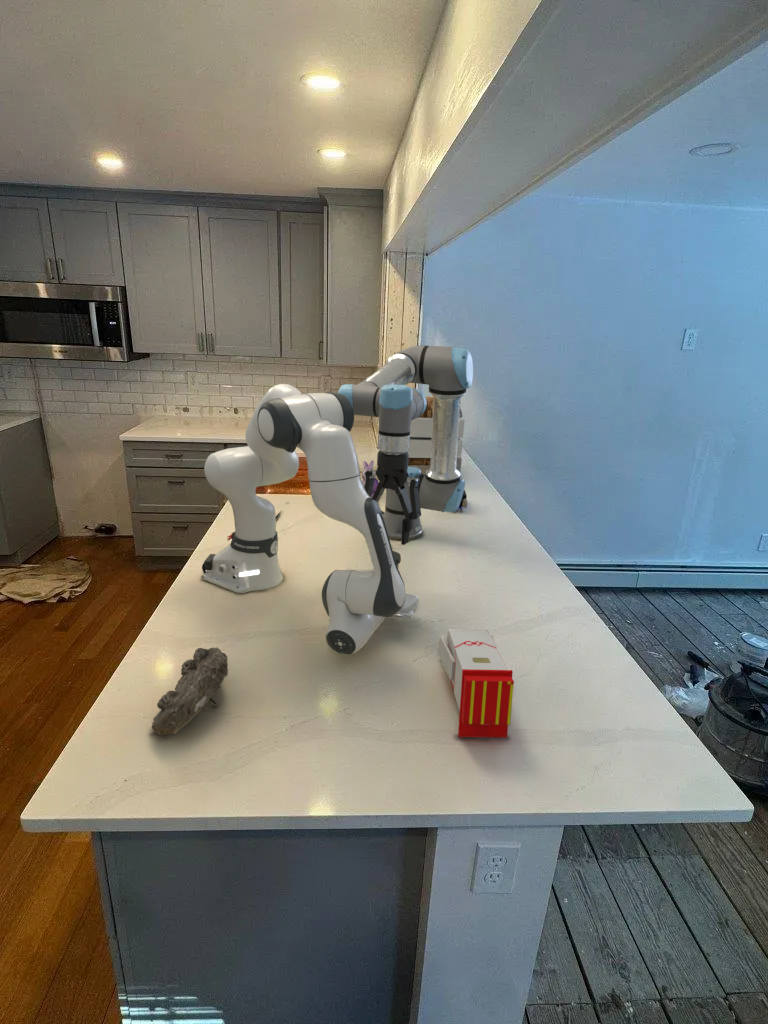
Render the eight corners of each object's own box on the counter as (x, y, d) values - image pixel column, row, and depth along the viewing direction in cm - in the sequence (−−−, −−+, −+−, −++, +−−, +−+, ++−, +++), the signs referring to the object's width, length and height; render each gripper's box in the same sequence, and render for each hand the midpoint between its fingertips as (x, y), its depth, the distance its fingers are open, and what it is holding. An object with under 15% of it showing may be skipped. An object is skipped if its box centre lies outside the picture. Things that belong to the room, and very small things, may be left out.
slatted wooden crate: (382, 463, 289) (386, 382, 275) (445, 464, 293) (451, 384, 279) (390, 482, 257) (394, 392, 243) (460, 483, 261) (468, 394, 247)
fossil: (179, 649, 121) (229, 617, 116) (211, 678, 124) (260, 649, 119) (128, 729, 101) (185, 695, 96) (167, 762, 104) (224, 731, 99)
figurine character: (467, 516, 223) (461, 500, 237) (469, 499, 220) (463, 483, 233) (450, 516, 223) (446, 499, 236) (452, 498, 220) (447, 483, 233)
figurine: (365, 500, 232) (366, 464, 227) (354, 493, 241) (355, 458, 236) (385, 497, 237) (387, 463, 231) (374, 490, 245) (375, 457, 240)
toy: (488, 613, 130) (523, 677, 101) (484, 667, 133) (517, 744, 104) (435, 612, 130) (455, 676, 101) (432, 666, 133) (451, 743, 103)
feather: (288, 505, 226) (290, 501, 226) (271, 529, 199) (273, 524, 199) (284, 503, 226) (287, 499, 225) (266, 526, 199) (269, 522, 199)
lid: (394, 568, 141) (395, 562, 141) (371, 562, 144) (371, 557, 143) (404, 558, 147) (404, 553, 146) (381, 553, 149) (381, 548, 149)
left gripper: (409, 607, 132) (426, 583, 144) (330, 590, 138) (352, 567, 151) (407, 631, 134) (424, 605, 146) (329, 612, 141) (352, 589, 153)
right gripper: (440, 455, 134) (433, 543, 142) (362, 442, 143) (360, 526, 151) (427, 461, 128) (420, 553, 135) (347, 447, 137) (345, 534, 144)
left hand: (387, 586), depth 149 cm, fingers closed on jar, 5 cm apart
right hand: (388, 539), depth 143 cm, fingers open, 8 cm apart
